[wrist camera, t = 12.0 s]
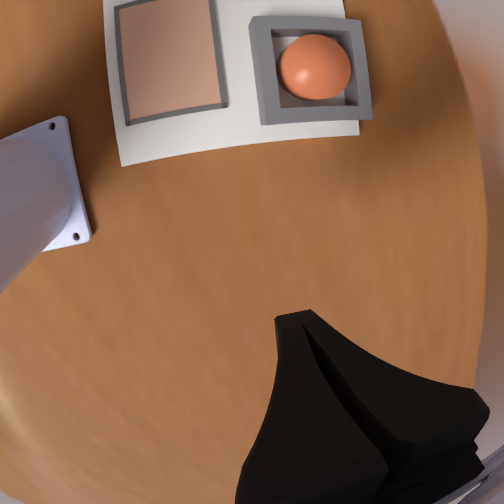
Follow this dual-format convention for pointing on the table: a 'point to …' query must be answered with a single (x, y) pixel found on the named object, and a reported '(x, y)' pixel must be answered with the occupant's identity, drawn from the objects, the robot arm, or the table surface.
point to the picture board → (222, 74)
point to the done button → (313, 68)
